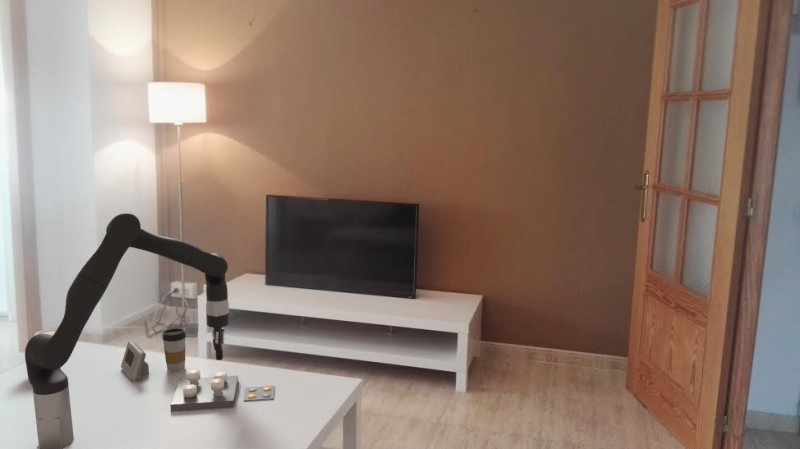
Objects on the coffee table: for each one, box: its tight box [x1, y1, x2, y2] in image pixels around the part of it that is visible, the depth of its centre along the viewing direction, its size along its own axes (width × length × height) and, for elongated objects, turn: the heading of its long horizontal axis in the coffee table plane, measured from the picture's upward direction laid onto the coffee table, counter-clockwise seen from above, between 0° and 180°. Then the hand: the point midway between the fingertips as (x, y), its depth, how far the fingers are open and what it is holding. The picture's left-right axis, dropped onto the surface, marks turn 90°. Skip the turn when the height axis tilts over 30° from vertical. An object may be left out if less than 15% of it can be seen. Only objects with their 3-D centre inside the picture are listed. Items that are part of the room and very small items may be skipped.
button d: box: [213, 371, 228, 385], centre depth 229 cm, size 4×4×5 cm
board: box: [169, 375, 239, 412], centre depth 224 cm, size 20×20×2 cm
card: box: [243, 385, 275, 402], centre depth 226 cm, size 10×10×1 cm
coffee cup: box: [162, 327, 187, 374], centre depth 245 cm, size 8×8×15 cm
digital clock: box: [120, 340, 150, 382], centre depth 241 cm, size 16×9×11 cm, turn 26°
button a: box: [183, 385, 197, 398], centre depth 219 cm, size 4×4×5 cm
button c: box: [186, 369, 201, 386], centre depth 227 cm, size 4×4×5 cm
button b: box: [211, 379, 224, 396], centre depth 220 cm, size 4×4×5 cm
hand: (219, 359), depth 227 cm, fingers closed
